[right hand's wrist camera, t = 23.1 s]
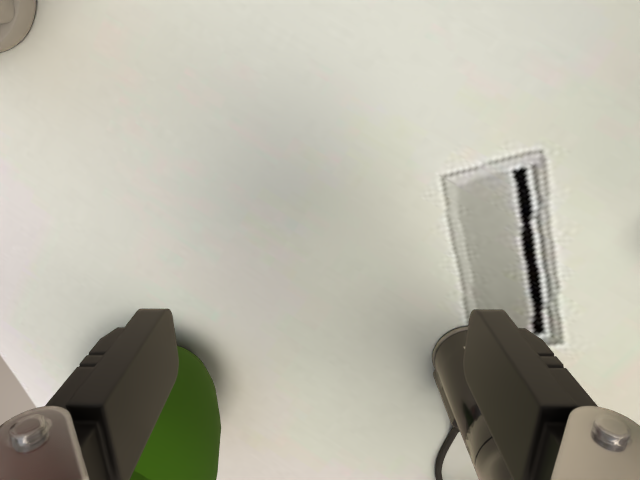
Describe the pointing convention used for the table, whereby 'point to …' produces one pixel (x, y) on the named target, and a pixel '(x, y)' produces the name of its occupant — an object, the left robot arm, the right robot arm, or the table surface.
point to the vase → (184, 429)
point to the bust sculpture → (15, 21)
